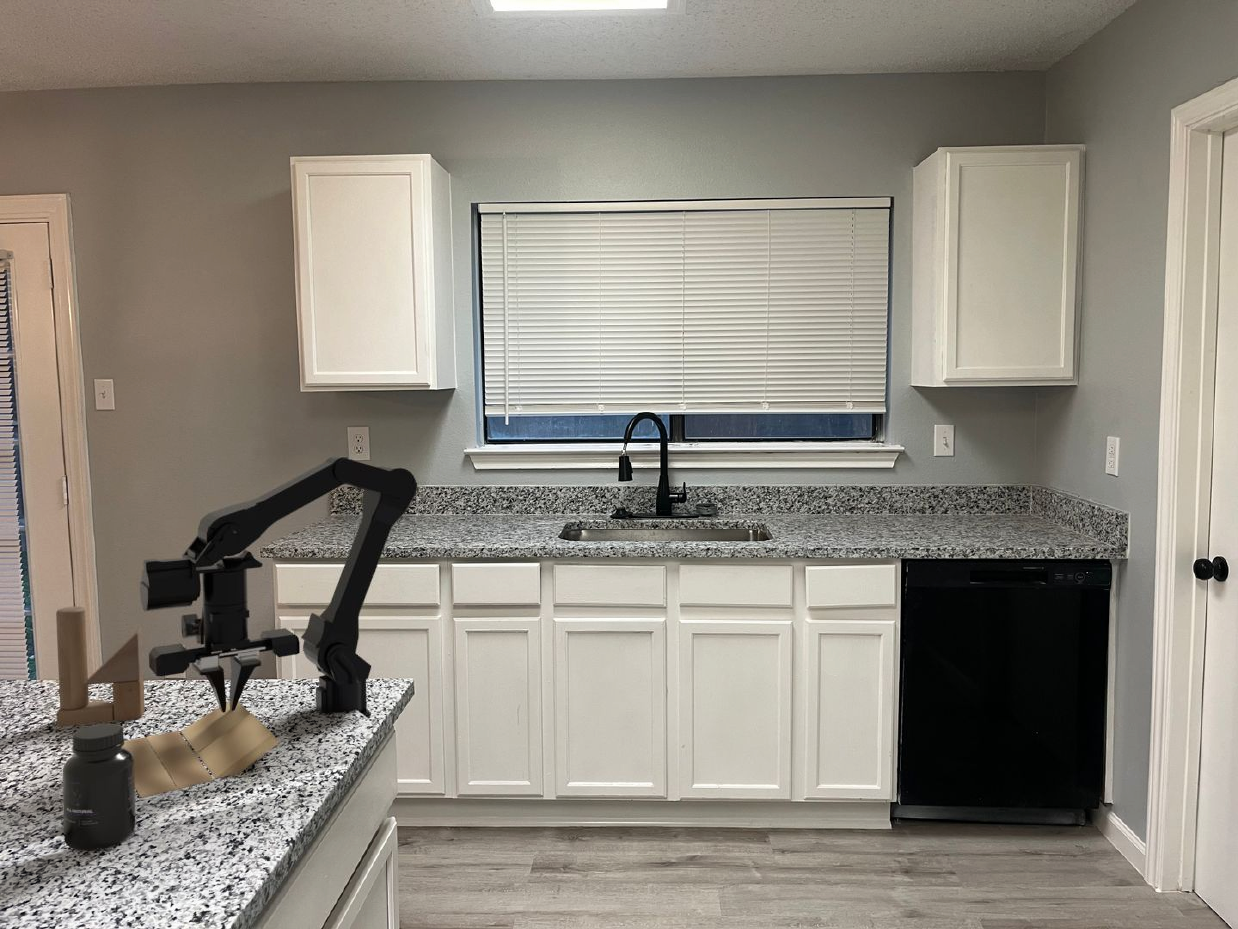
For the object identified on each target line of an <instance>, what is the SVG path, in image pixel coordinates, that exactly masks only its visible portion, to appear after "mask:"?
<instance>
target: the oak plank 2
mask: <svg viewBox="0 0 1238 929" xmlns="http://www.w3.org/2000/svg"><path fill="white" fill-rule="evenodd" d="M250 713H251V714H250V715H248V716H247V717H246V718H244V719H243V720H242V721H240V722H239V723H238V724H236V725H235V726H234V727H232V728H231V729H230V730H228V731H227V732H226V733H224V734H223V735H222V736H220V737H219V738H218V739H216V740H215V741H214V742H212V743H211V744H210V745H208V746H207V747H206V748H204V749H203V750H202V751H200V752H198V753H197V756H198V757H200V760H201V761H203V762H202V763H204V766H206V767H207V769H208V770H209V771H210V773H211V774H212V775H213V777H214V778H215V779H219V778H222V777H228V776H232V775H236V774H237V775H238V774H240V773H241V772H243V771H244V770H246V769H247V768H248V767H250V766H251V765H252V764H253V763H255V762H256V761H257V760H258V759H260V758H261V757H262V756H264V755H265V754H266V753H268V752H269V751H270V750H271V749H273V747H275V746H276V745H278V744H279V743H280V741H278V739H277V738H276V736H275V735H274V734H273V732H272V731H270V730H269V728H267V727H266V726H265V725H264V723H262V721H261V720H260V719H258V718H257V717H256V716H255V714H253V713H252V712H250Z"/></svg>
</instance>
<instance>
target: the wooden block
mask: <svg viewBox="0 0 1238 929" xmlns="http://www.w3.org/2000/svg"><path fill="white" fill-rule="evenodd" d="M55 616H56V619H55V620H56V640H57V642H56V643H57V666H58V687H59V688H58V689H59V692H58V694H59V707H60V708H59V709H58V710H57V712H55V713H56V714H55V715H56V718H55V719H56V727H57V728H61V727H69V726H78V725H80V726H81V725H90V724H102V723H109V722H113V721H114V722H121V721H128V720H138V719H139V720H140V719H141V718H143V715H144V714H145V710H146V707H145V706H146V705H145V680H144V678H145V677H144V675H143V674H144V662H143V661H144V656H143V650H144V649H143V628H142V627H139V628H138V629H137V630H136V631H135V632H134V633H133V634H132V635H131V636H130V637H129V638H128V639H127V640H126V641H125V642H124V643H123V644H122V645H121V646H120V647H119V648H117V650H116V651H115V652H114V653H113V654H111V656H110V657H109V658H108V659H106V661H105V662H103V664H101V666H100V667H99V668H98V669H97V670H95V672H93V673H92V674H91V675H90V677H89V671H88V649H87V648H88V647H87V646H88V644H87V642H88V641H87V620H86V617H87V616H86V609H85V607H83V606H66V607H63V608H59V609H57V610H56V612H55ZM111 683H112V702H109V701H106V700H98V701H97V700H96V701H90V696H89V685H98V684H99V685H100V684H111Z"/></svg>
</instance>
